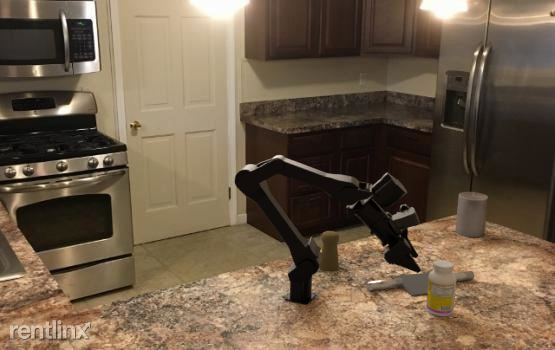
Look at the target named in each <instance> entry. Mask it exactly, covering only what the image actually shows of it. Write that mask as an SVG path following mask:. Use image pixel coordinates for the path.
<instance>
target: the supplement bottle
mask: <svg viewBox="0 0 555 350" xmlns="http://www.w3.org/2000/svg"><path fill="white" fill-rule="evenodd" d="M454 265H455V264H454V263H453V262H452V261H449V260H444V259H437V260H435V261H434V262H433V269H432V270H431V271H430V272H428V273H429V279H428V291H427V295H426V302H425V303H426V304H425V305H426V306H425V307H426V311H427V312H428V313H430V314H431V315H434V316H436V317H449V316H451V315H452V314H453V313H454V309H455V299H456V298H455V297H456V290H457V289H456V287H457V281H456V280H457V278H456V275H455V274H454V273H455V272H454Z"/></svg>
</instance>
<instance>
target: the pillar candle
mask: <svg viewBox="0 0 555 350" xmlns="http://www.w3.org/2000/svg"><path fill="white" fill-rule="evenodd" d="M488 197H489V196H488V195H486V194H484V193H480V192H475V191H464V192H459V194H458V201H457V208H456V209H457V211H456V220H455V221H456V222H455V230H454V232H455V233H456V234H457V235H460V236H462V237H467V238H480V237H484V234H485V230H486V229H485V228H486V222H487V221H486V219H487V208H488V199H489V198H488Z"/></svg>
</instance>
